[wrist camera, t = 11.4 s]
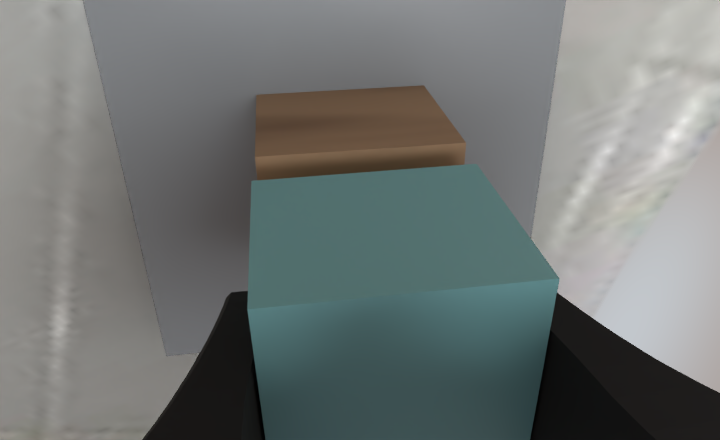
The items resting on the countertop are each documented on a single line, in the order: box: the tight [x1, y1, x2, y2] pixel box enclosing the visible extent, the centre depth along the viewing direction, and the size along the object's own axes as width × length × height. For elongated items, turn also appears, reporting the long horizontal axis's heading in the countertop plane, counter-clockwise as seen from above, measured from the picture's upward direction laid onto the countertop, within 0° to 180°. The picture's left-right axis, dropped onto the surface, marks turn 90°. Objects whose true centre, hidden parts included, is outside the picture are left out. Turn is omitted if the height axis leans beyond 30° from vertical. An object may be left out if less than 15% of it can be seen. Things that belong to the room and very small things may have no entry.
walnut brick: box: [255, 85, 466, 180], centre depth 16 cm, size 5×4×4 cm
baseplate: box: [83, 0, 566, 356], centre depth 18 cm, size 12×12×1 cm
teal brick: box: [247, 164, 559, 440], centre depth 12 cm, size 5×4×4 cm
